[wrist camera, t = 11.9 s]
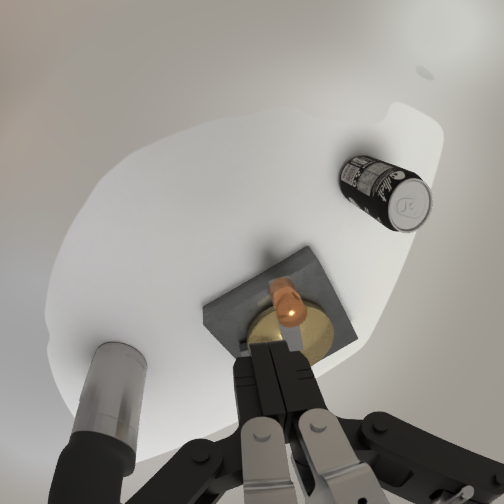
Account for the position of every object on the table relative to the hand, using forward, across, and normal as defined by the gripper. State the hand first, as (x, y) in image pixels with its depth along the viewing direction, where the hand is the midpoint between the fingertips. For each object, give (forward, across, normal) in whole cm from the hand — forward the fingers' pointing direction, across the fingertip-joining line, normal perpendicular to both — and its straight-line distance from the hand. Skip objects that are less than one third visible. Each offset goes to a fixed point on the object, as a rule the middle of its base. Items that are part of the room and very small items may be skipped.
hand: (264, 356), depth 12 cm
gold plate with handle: (+23, -7, +17) cm, 29 cm away
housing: (+27, -8, +19) cm, 34 cm away
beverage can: (+27, -18, -2) cm, 32 cm away
